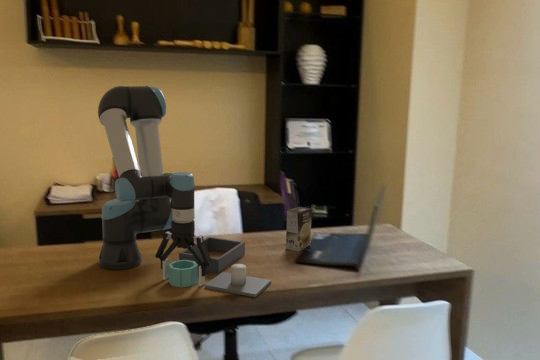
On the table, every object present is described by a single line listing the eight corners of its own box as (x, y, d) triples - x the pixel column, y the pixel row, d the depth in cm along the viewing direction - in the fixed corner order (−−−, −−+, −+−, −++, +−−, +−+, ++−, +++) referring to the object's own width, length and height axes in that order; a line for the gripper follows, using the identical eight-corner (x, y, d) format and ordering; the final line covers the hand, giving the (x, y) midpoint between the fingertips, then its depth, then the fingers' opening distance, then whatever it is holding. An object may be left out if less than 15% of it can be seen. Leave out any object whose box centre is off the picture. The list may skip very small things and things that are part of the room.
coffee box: (298, 252, 210) (299, 212, 207) (285, 248, 214) (286, 210, 211) (310, 246, 217) (312, 208, 214) (297, 243, 221) (298, 206, 218)
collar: (164, 284, 175) (163, 266, 174) (178, 275, 183) (178, 258, 182) (188, 288, 172) (187, 271, 170) (201, 279, 180) (201, 262, 179)
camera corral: (179, 266, 192) (178, 253, 191) (208, 248, 212) (208, 236, 211) (218, 273, 186) (218, 259, 185) (244, 254, 206) (244, 242, 205)
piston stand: (204, 287, 173) (204, 268, 172) (223, 274, 185) (223, 256, 183) (255, 297, 166) (256, 277, 165) (271, 283, 178) (271, 264, 177)
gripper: (143, 218, 174) (145, 279, 178) (211, 227, 165) (211, 291, 169) (156, 213, 181) (158, 272, 185) (222, 221, 172) (222, 283, 176)
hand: (183, 281), depth 177 cm, fingers open, 13 cm apart
